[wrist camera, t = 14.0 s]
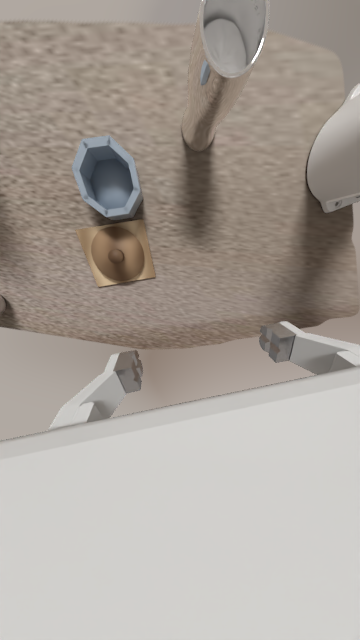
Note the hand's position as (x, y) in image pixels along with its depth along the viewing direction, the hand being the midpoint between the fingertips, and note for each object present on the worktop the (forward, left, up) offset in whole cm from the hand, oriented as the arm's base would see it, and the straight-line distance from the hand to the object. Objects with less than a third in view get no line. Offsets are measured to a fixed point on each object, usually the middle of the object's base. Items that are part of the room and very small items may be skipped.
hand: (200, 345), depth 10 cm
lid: (+11, -5, -31) cm, 33 cm away
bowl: (+8, -16, -31) cm, 36 cm away
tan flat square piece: (+11, -5, -31) cm, 33 cm away
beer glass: (-9, -23, -31) cm, 40 cm away
